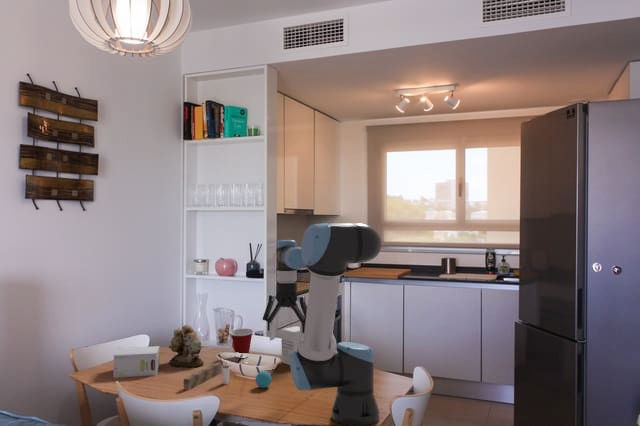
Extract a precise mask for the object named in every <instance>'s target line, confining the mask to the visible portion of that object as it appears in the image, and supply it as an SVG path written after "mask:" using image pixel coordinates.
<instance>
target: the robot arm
mask: <svg viewBox="0 0 640 426" xmlns="http://www.w3.org/2000/svg"><path fill="white" fill-rule="evenodd" d="M275 251H276V253H275V254H276V295H275V294H273V293H272V294H269V295H268V303H267V305H266V308H265V310H264V313H263V316H262V321H265V322H266V323H267V331H268V332H269V341H273V340H275V337H276V336H275V335H276V334H275V333H276V332H275V329H276V328H275V321H274V319H275V317H276V316H277V314H278V313H279V312H280V310H281V309H282V308H290V309H292V310H293V312H294V314H295V315H296V317H297V318H298V319H299V322H300V323H301V324H299V327H300V343H299V345H298V349H297V352H293V353H291V355H290V365H289V366H290V372H291V376H292V380H293V381H292V382H293V384H294V387H296V389H297V390H299V391H301V392H302V391H305V392H306V391H310V392H311V391H313V390H315V391H316V390H324V389H331V388H334V389H335V388H336V395H335V398H334V401H333V405H332V407H331V419H332V421H334V422H335V423H338V424H340V425H344V426H369V425H373V424H375V423H377V422H378V421H379V420H380V408H379V406H378V402H377V400H376V396H375V393H374V391H375V390H374V386H375V385H374V383H375V382H374V381H375V380H374V379H375V378H374V375H375V374H374V370H375V369H374V368H375V367H374V365H375V360H374V352H373V349H372V348H371V347H370V346H369V345H366V344H362V343H358V342H352V341H351V342H350V341H341V342H338V343H336V345H337V346H336V349H335V348H334V346H333V345H332V344H331V343H332V335H334V333H333V332H334V326H335V319H336V311H337V303H338V294H339V287H340V279H341V277H342V276H343V275H345V274H346V272H347V269H348V268H347V267H348V265H351V264H362V263H367V262H370V261H373V260H374V259H375V258H376V257H378V256H379V254H380V252H381V251H382V238H381V235H380V234H379V233H378V231H377V230H376V229H375V228H373V227H372V226H370V225H368V224H364V223H361V222H353V223H345V222H344V223H336V222H335V223H334V222H333V223H327V222H322V223H315V224H311V225H309V226H308V227H307V228H306V230H305V231H304V233H303V236H302V241H301V246H298V245H297V241H296V240H294V239H279V240H277V242H276V249H275ZM305 268H306V269H307V271H308V272H310V278H309V285H308V286H309V289H308V296H307V297H308V298H307V303H306V296H305V295H302V296H298V283H297V282H296V281H298V277H297V275H298V272H297V271H298V270H300V269H305ZM275 301H277V303H276V305H275V307H274V309H273V305H274V303H275ZM297 301H298V302H299V305H298V303H297ZM299 306H300V308H301V309H300V308H299ZM272 309H273V310H272ZM271 311H272V312H271Z"/></svg>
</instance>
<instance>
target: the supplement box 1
mask: <svg viewBox="0 0 640 426" xmlns="http://www.w3.org/2000/svg"><path fill="white" fill-rule="evenodd" d="M159 369H160V345H157V346H134V347H133V346H132V347H131V346H130V347H118V348H117V349H116V351H115V352H114V354H113V376H112V377H113V378H125V377H127V378H128V377H145V376H157V375H158V372H159Z"/></svg>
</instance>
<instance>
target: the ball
mask: <svg viewBox="0 0 640 426" xmlns="http://www.w3.org/2000/svg"><path fill="white" fill-rule="evenodd" d="M272 380H273V378H272V376H271V373H270V372H267V371H266V370H265V371H264V370H263V371H259V372H258V373H257V374H256V376H255V383H256V385H257V386H258V387H259V388H262V389H265V388H268V387H269V386H270V385H271V384H272Z"/></svg>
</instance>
